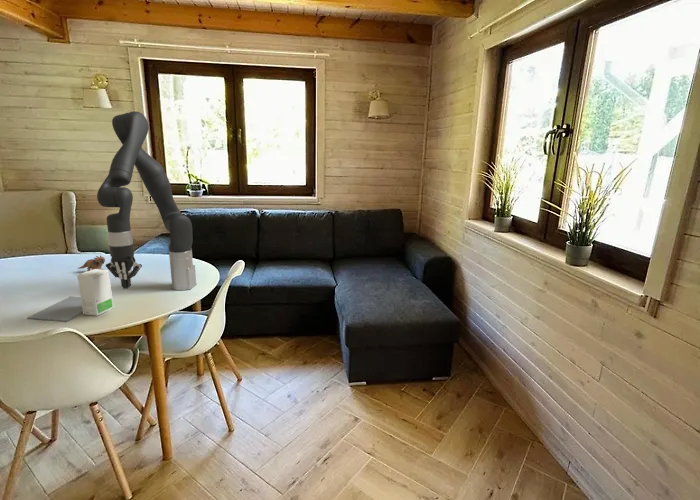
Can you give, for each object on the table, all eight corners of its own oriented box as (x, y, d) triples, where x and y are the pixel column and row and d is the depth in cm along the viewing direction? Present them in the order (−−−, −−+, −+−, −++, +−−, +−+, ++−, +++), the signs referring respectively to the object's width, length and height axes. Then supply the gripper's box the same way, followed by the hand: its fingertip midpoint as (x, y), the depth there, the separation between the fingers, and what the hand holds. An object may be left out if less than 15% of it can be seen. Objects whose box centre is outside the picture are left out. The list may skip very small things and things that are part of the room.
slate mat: (105, 299, 155) (105, 298, 155) (66, 321, 136) (66, 320, 136) (70, 297, 156) (70, 296, 156) (27, 318, 137) (26, 317, 137)
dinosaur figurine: (112, 271, 189) (110, 253, 186) (105, 275, 183) (102, 256, 181) (85, 270, 189) (82, 252, 186) (77, 274, 183) (74, 255, 181)
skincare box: (97, 316, 141) (90, 276, 137) (81, 314, 142) (75, 274, 138) (114, 307, 149) (109, 269, 145) (100, 305, 150) (94, 267, 146)
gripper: (144, 241, 141) (149, 285, 145) (110, 239, 141) (116, 283, 146) (132, 246, 133) (137, 293, 138) (96, 244, 134) (102, 290, 139)
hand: (126, 288), depth 142 cm, fingers closed
